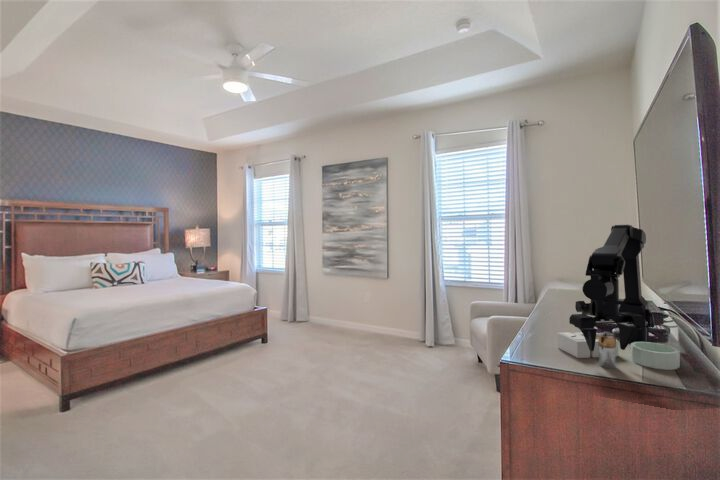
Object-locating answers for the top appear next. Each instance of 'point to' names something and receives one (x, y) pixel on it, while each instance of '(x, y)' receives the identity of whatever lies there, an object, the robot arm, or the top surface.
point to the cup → (655, 355)
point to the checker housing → (578, 345)
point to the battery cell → (607, 350)
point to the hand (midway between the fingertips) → (607, 350)
